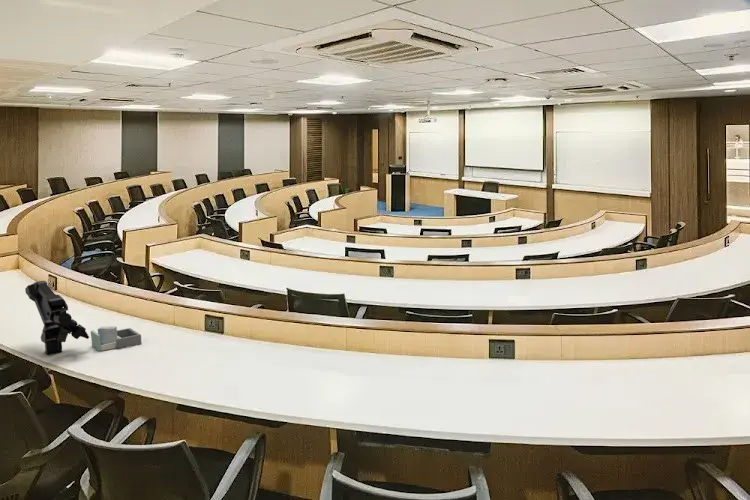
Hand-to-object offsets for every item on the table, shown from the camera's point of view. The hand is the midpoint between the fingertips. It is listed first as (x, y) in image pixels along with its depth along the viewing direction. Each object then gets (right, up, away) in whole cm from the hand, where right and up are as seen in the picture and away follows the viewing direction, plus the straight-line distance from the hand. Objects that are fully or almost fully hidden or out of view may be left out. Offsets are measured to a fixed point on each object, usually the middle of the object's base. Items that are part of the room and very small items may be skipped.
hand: (88, 337), depth 278 cm
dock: (+12, -5, +12) cm, 18 cm away
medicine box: (+7, -4, +7) cm, 11 cm away
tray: (+7, -5, +7) cm, 11 cm away
